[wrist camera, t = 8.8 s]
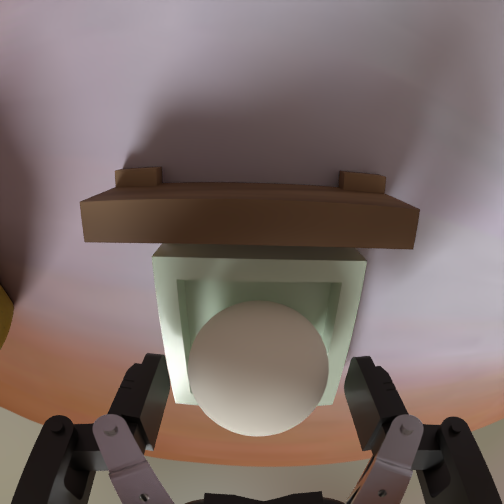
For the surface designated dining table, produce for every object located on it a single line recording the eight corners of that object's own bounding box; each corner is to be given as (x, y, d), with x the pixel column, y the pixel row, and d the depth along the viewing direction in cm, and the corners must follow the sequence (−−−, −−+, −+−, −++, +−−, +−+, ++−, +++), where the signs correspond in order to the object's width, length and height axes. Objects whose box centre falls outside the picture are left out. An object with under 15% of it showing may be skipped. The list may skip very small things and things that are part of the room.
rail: (122, 168, 13) (78, 181, 9) (378, 174, 13) (422, 188, 9) (126, 230, 14) (87, 261, 10) (372, 235, 14) (409, 268, 10)
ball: (194, 275, 14) (163, 359, 8) (322, 277, 14) (361, 360, 8) (202, 369, 16) (187, 456, 10) (307, 370, 16) (325, 456, 10)
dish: (164, 240, 14) (151, 256, 12) (352, 244, 14) (366, 261, 12) (181, 378, 17) (175, 403, 15) (325, 380, 17) (332, 404, 15)
